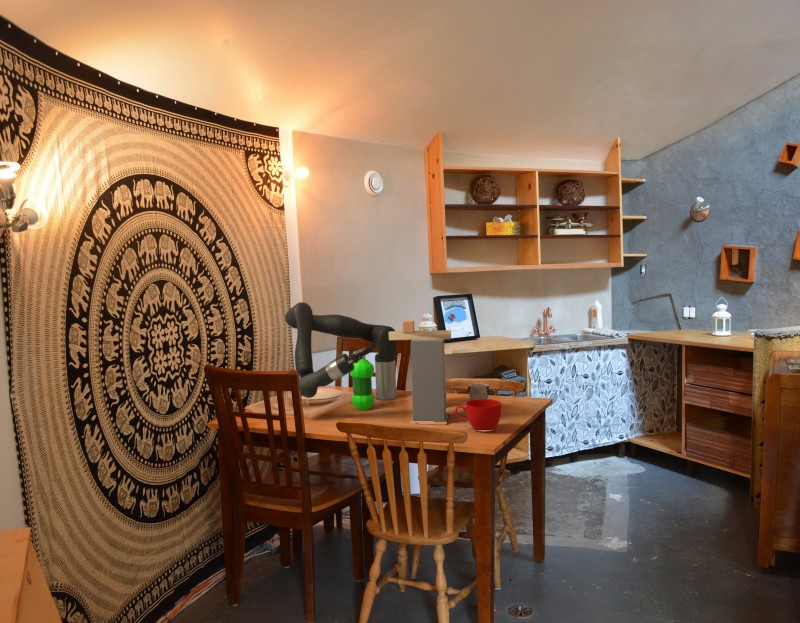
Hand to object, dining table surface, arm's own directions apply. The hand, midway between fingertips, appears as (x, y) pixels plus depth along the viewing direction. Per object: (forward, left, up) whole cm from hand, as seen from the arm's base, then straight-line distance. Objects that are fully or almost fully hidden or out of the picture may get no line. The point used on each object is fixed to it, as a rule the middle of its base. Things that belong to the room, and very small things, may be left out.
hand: (373, 346), depth 246 cm
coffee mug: (-19, +40, -30) cm, 53 cm away
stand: (0, +21, -29) cm, 36 cm away
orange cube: (0, +14, +6) cm, 15 cm away
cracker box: (-23, +19, -30) cm, 42 cm away
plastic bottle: (-18, -9, -30) cm, 36 cm away
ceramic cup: (+14, +40, -30) cm, 52 cm away
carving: (-8, +40, -30) cm, 51 cm away
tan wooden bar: (0, +18, +3) cm, 19 cm away
